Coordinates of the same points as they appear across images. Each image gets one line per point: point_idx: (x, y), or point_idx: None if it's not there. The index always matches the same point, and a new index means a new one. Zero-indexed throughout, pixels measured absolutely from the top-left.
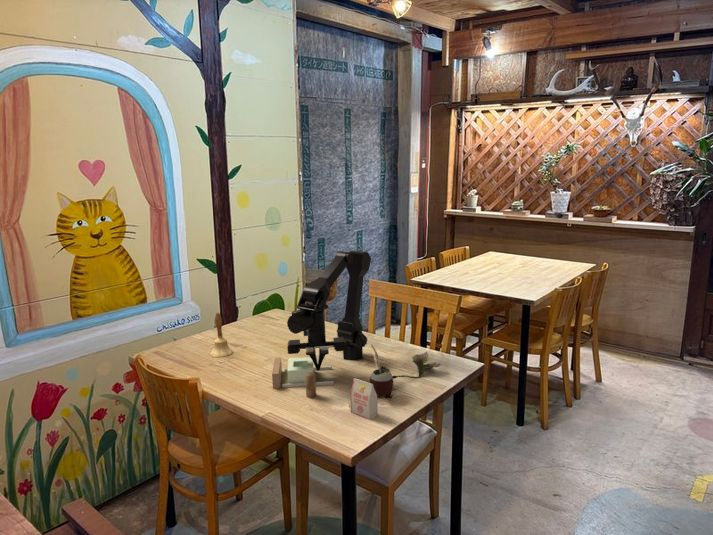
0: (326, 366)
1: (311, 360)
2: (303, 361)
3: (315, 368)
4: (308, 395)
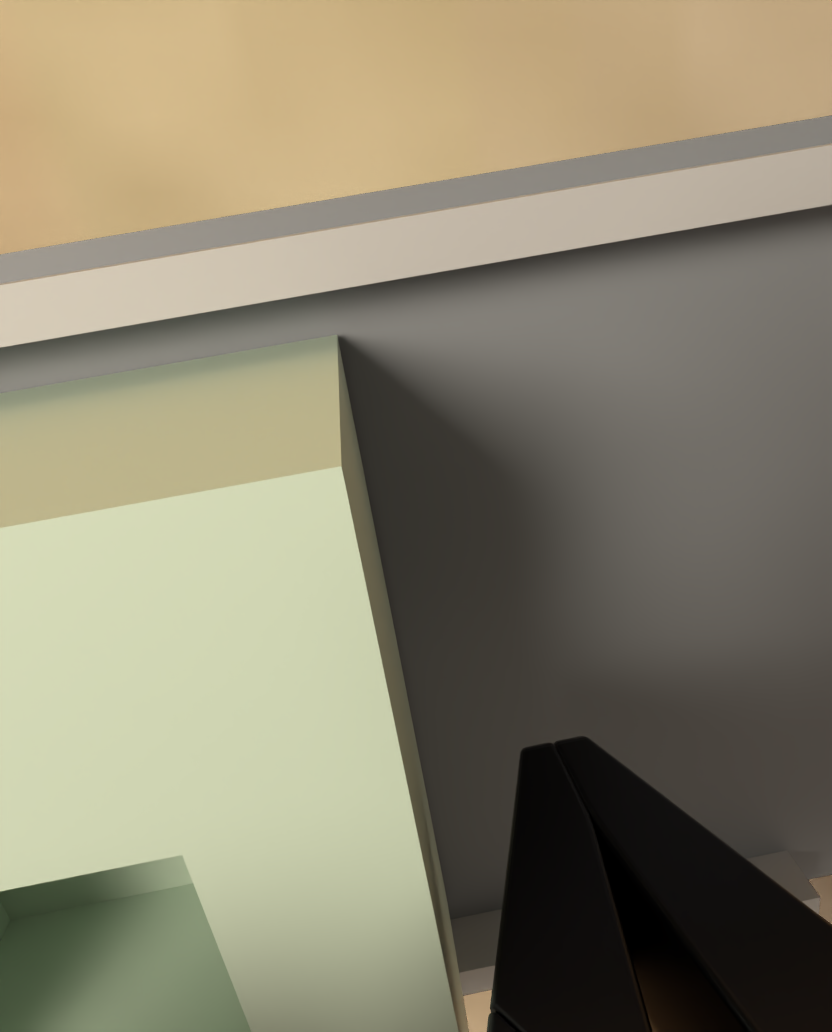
0: (725, 163)
1: (354, 827)
2: (4, 870)
3: (388, 278)
4: None
